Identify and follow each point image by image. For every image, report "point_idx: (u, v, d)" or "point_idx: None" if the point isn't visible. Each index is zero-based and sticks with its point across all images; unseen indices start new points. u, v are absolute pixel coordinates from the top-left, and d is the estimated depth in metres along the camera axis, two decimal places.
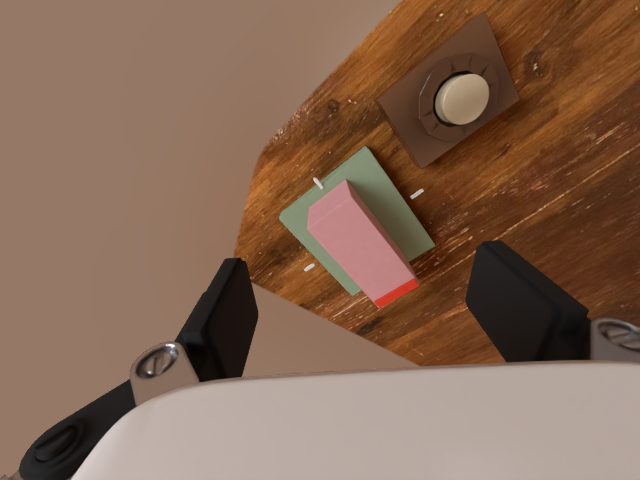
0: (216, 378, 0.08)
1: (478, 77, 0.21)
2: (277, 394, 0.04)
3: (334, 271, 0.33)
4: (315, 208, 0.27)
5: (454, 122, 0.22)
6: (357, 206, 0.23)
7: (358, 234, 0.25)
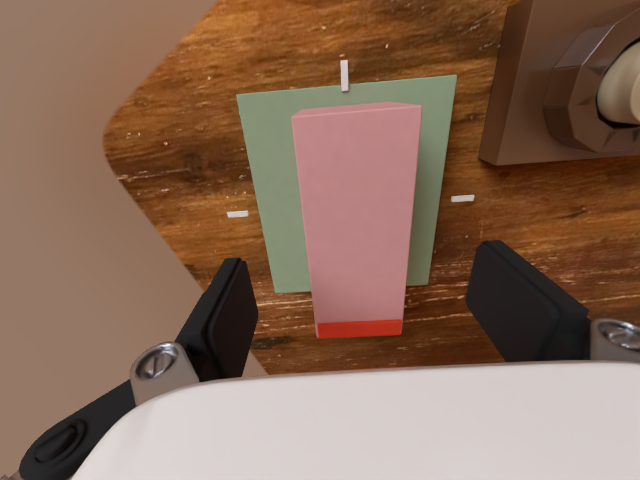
0: (216, 378, 0.08)
1: None
2: (277, 394, 0.04)
3: (273, 243, 0.19)
4: (317, 109, 0.13)
5: (633, 107, 0.12)
6: (417, 136, 0.11)
7: (378, 194, 0.12)
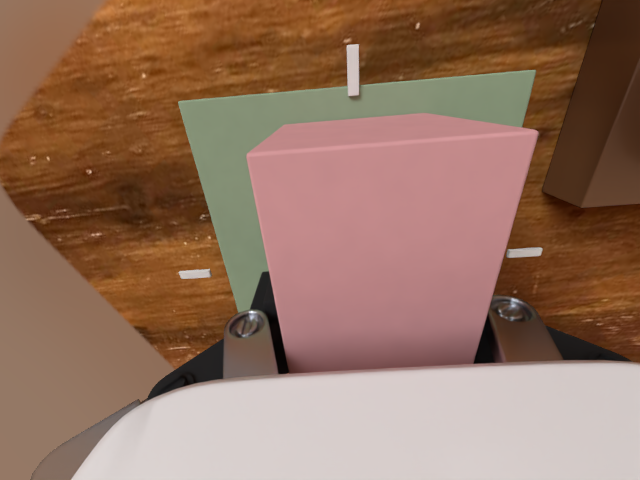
0: None
1: None
2: (277, 394, 0.04)
3: None
4: (308, 127, 0.08)
5: None
6: (516, 193, 0.05)
7: (423, 296, 0.06)
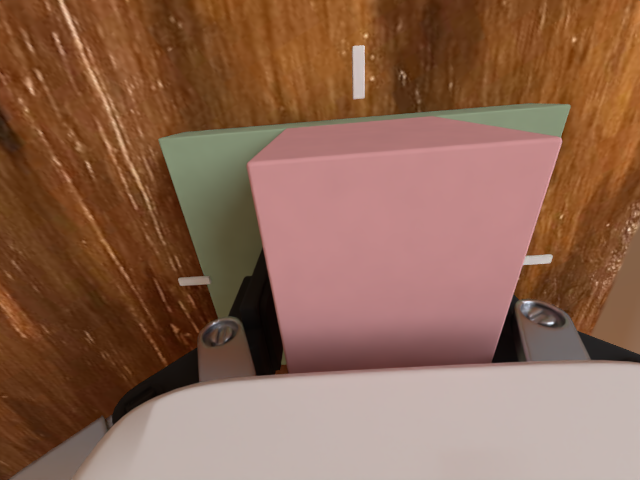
0: (266, 352, 0.08)
1: None
2: (277, 394, 0.04)
3: None
4: (311, 132, 0.07)
5: None
6: (536, 204, 0.05)
7: (434, 311, 0.06)
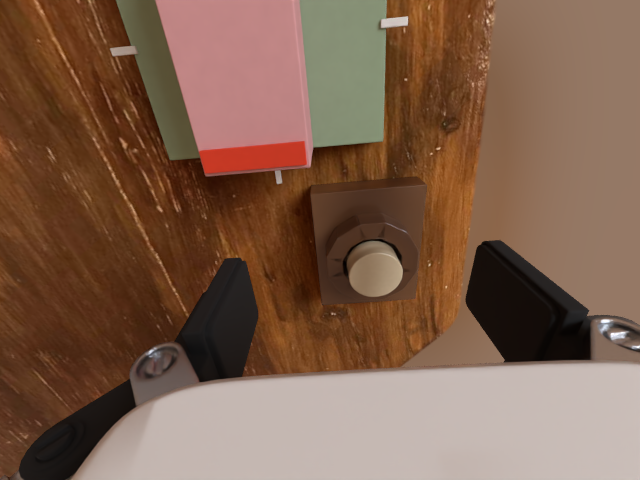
0: (216, 378, 0.08)
1: (388, 292, 0.19)
2: (277, 394, 0.04)
3: None
4: None
5: (361, 258, 0.17)
6: None
7: None
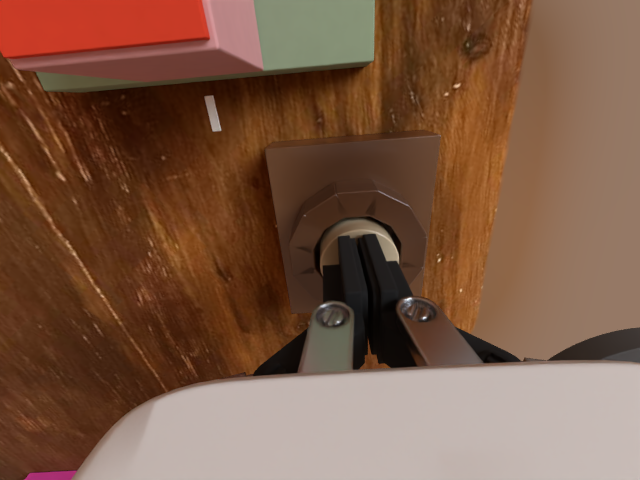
0: None
1: None
2: (277, 394, 0.04)
3: None
4: None
5: (337, 238, 0.12)
6: None
7: None
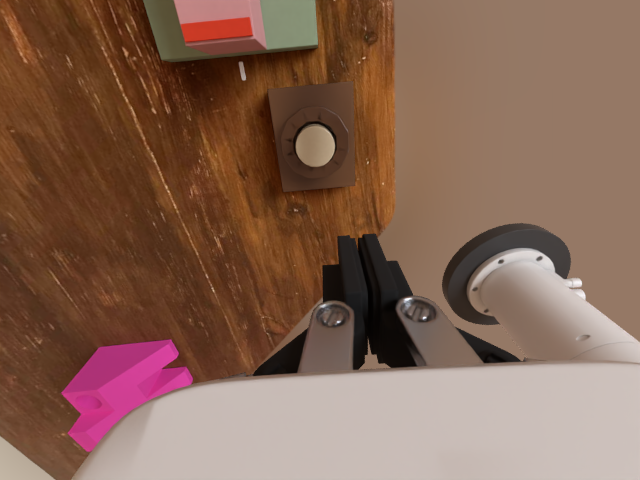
0: None
1: (325, 162, 0.25)
2: (277, 394, 0.04)
3: None
4: None
5: (303, 131, 0.24)
6: None
7: None
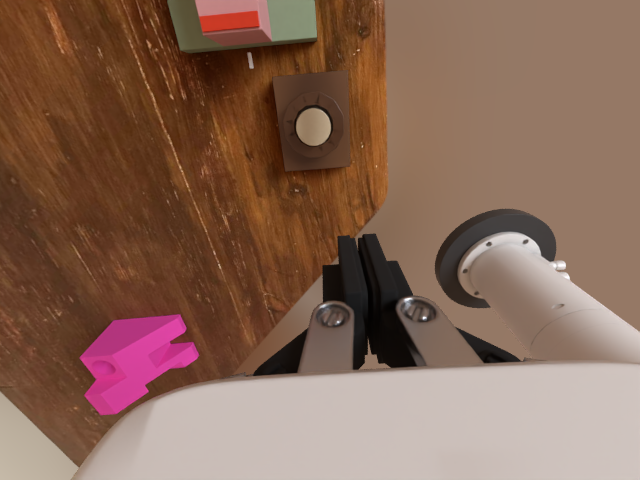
0: None
1: (322, 141, 0.28)
2: (277, 394, 0.04)
3: None
4: None
5: (302, 113, 0.27)
6: None
7: None
